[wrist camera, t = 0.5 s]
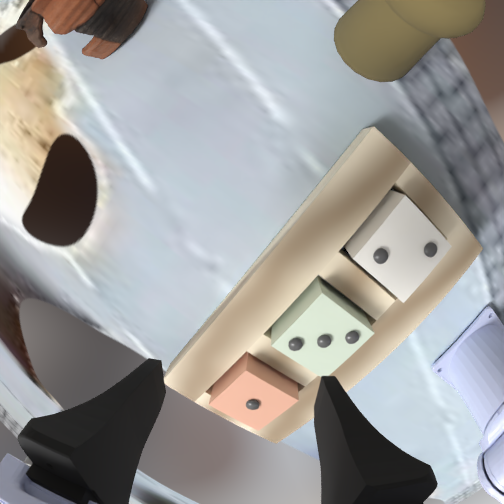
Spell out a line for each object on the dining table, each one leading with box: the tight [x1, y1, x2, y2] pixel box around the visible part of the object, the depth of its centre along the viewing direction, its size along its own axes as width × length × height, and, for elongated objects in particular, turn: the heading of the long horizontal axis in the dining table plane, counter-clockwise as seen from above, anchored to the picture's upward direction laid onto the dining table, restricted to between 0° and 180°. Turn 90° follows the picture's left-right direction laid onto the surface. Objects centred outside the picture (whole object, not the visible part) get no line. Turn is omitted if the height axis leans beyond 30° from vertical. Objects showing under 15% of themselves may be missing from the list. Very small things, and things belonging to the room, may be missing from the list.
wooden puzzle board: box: [164, 126, 483, 443], centre depth 21 cm, size 12×24×2 cm, turn 143°
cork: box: [334, 0, 485, 82], centre depth 11 cm, size 6×6×11 cm
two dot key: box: [344, 190, 452, 303], centre depth 18 cm, size 5×5×3 cm
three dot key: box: [271, 276, 374, 377], centre depth 20 cm, size 5×5×3 cm
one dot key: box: [209, 351, 299, 431], centre depth 22 cm, size 5×5×3 cm
